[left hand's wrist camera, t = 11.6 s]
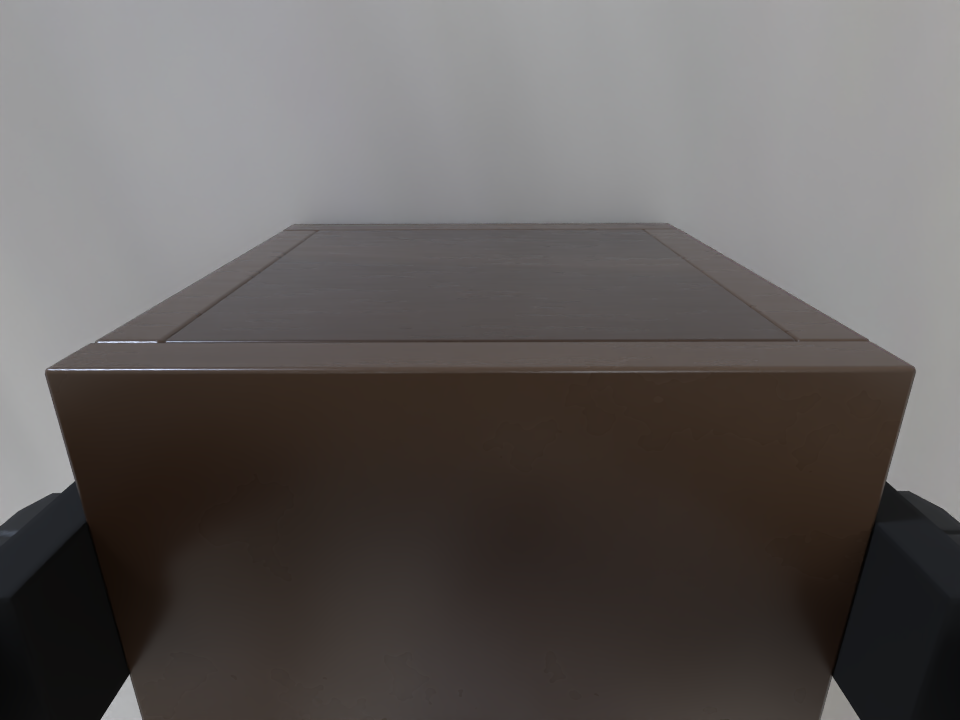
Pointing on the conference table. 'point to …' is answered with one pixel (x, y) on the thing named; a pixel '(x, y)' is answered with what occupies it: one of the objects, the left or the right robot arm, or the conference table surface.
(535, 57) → the conference table surface
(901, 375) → the cabinet
